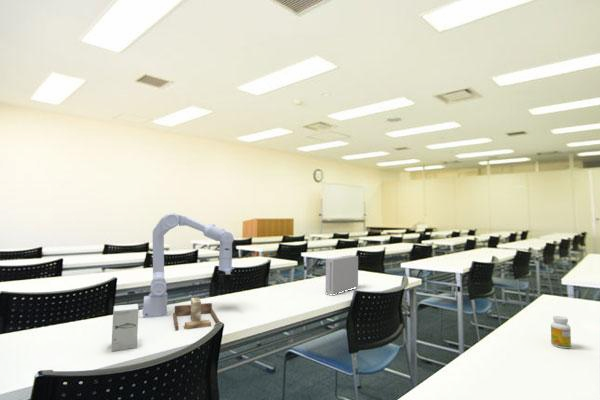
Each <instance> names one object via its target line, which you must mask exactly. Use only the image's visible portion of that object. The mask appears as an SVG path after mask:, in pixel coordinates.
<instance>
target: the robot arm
mask: <svg viewBox="0 0 600 400" xmlns="http://www.w3.org/2000/svg"><path fill="white" fill-rule="evenodd" d="M177 226H179V227H182V226H187V227H189V228H192V229H194V230H197V231H200V232H202V234H203V236H204V237H206V238H208V239H210V240H213V241H216V242H219V249H218V250H219V251H218V252H219V254H218V270H217V271H216V274H217V275H218V280H219V284H220V287H223V288H222V289H223V290H224V291H229V289H230V285H231V281H232V279H233V277H234V276H235V275H234V273H231V271H232V270H234V269H235V267H234V266H233V265H232V264H233V242H234V240H235V239H234V235H233V234H232V233H231V232H229V231H226V229H224V228H219V227H218V226H216V225H215V224H207V225H205V224H203V223H200V222H199V221H196V220H195V219H194V220H193V219H192V218H189V217H188V216H185V215H182V214H176V213H175V212H169V213H167V214H165V215H164V216H162V217H161V218H160V219H159V221H158V223H157V224H156V225H155V227H154V228H153V230H152V281H151V282H150V293H149V294H148V295H144V296H143V309H142V313H141V314H142V318H143V319H148V318H158V317H167V316H168V314H169V313H168V292H167V289H168V287H167V286H168V285H167V281H166V280H165V246H164V245H165V237H164V236H165V235H166V234H167V233H168V232H169V231H170V230H173V229H174V228H176V227H177Z"/></svg>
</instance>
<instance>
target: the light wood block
mask: <svg viewBox="0 0 600 400" xmlns="http://www.w3.org/2000/svg"><path fill="white" fill-rule="evenodd" d="M201 304H202V301H201V299H200V297H191V298H190V305H191V315H190V322H194V321H201V318H202V317H201V316H202V314H201Z"/></svg>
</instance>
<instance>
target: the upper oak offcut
mask: <svg viewBox="0 0 600 400" xmlns="http://www.w3.org/2000/svg"><path fill="white" fill-rule="evenodd" d="M184 326H185V328H186V329H185V330H191V329H200V327H202V328H209V327H208V326H211V327H212V322H211V321H210V319H204V320H200V321H194V322H192V321H188V322H184Z"/></svg>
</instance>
